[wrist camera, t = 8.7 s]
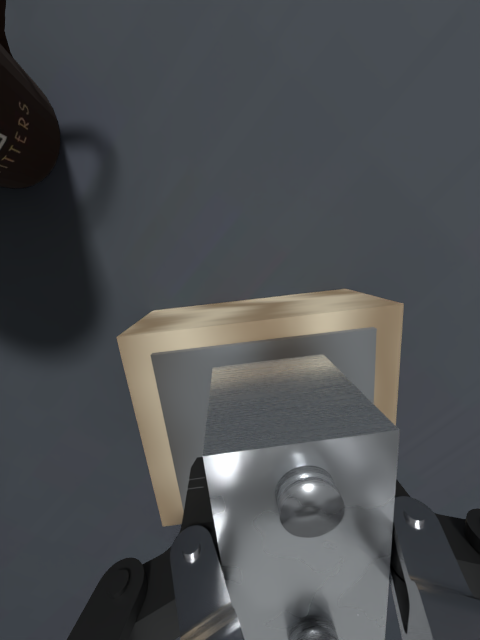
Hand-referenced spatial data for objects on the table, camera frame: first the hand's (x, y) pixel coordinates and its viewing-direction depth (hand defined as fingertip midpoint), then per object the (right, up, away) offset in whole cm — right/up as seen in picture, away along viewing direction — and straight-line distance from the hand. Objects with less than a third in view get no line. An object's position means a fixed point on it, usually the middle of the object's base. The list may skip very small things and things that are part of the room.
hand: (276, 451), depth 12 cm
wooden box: (0, +2, +8) cm, 8 cm away
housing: (0, 0, +1) cm, 0 cm away
